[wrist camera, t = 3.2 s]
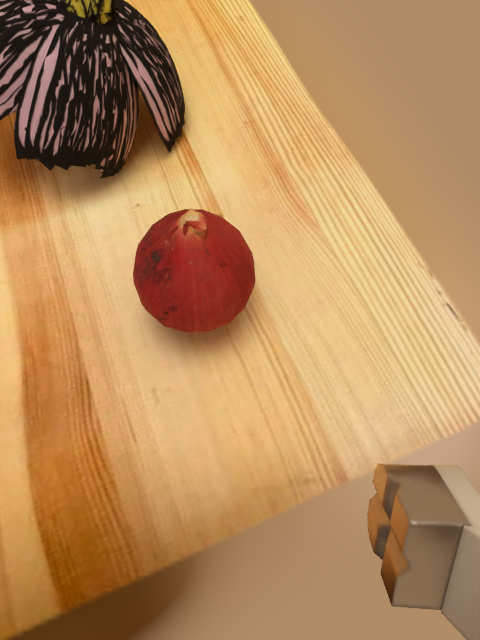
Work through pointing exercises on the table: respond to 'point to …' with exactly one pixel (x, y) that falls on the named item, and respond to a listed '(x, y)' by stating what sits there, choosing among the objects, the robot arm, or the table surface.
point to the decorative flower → (84, 81)
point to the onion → (193, 271)
